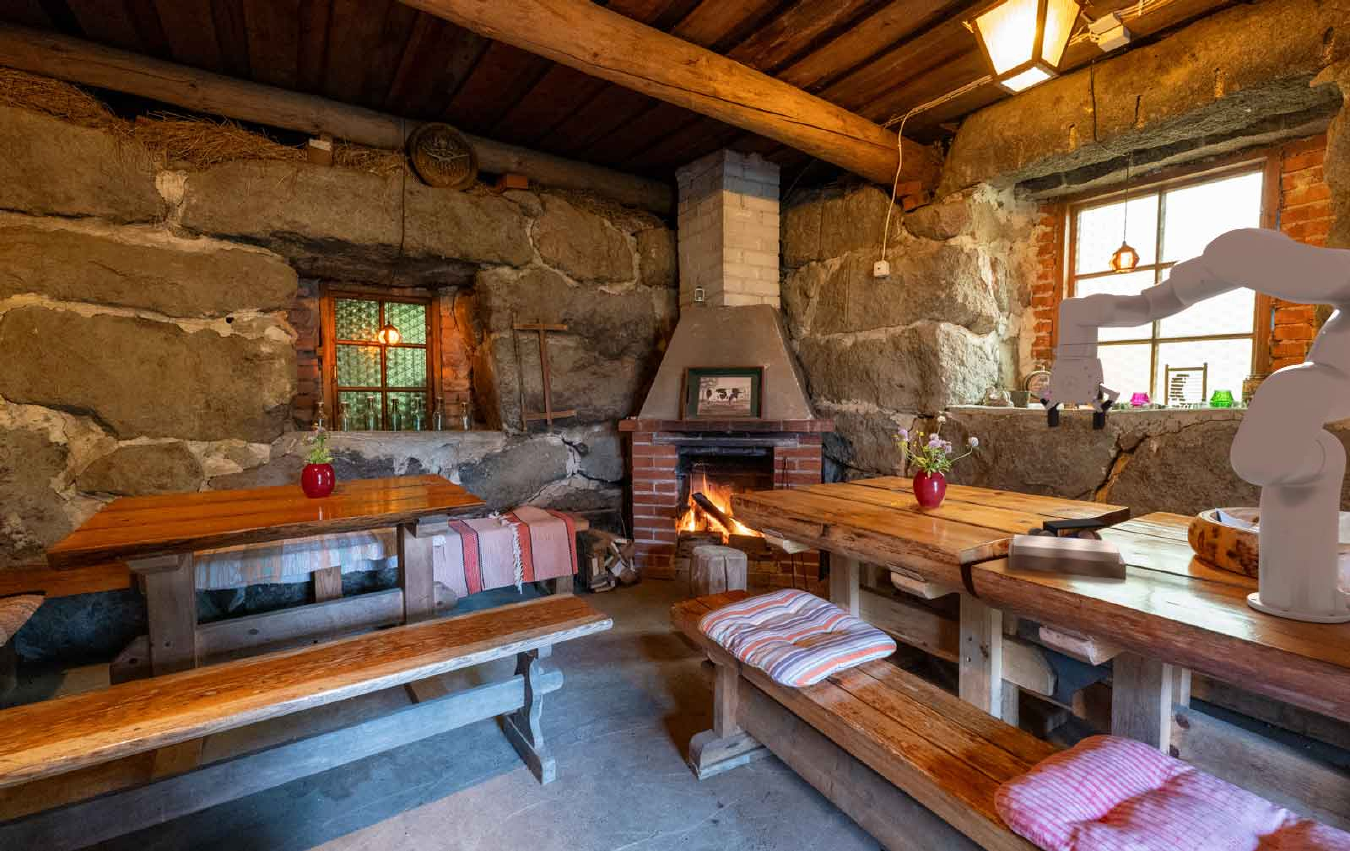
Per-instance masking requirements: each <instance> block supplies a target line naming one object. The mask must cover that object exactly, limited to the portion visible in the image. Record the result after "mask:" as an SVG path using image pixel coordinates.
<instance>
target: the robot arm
mask: <svg viewBox="0 0 1350 851" xmlns="http://www.w3.org/2000/svg"><path fill="white" fill-rule="evenodd" d="M1168 276H1169V278H1167V279H1165V280H1163V281H1161V282H1159V283H1156V284H1155V285H1154V284H1153V285H1152V286H1149V287H1146V288H1144V289H1141V290H1137V291H1100V292H1097V293H1093V294H1090V295H1086V296H1085V295H1084V296H1074V297H1073V296H1071V297H1067V298H1063V299H1061V301H1060V302H1059V305H1058V328H1057V329H1058V330H1057V331H1058V332H1057V345H1056V346H1057V347H1056V348H1052V352H1051V354H1052V355H1056V357H1057V359H1053V361H1052V364H1051V368H1050V373H1049V379H1048V385H1046V386H1045V387H1043V388H1040V389H1039V390H1036V395H1037V398H1038V400H1039V402H1040V404H1041V405H1042V406H1043V407H1044V409H1045V410H1046V411H1047V412H1046V414H1047V416H1046V417H1047V418H1046V420H1047V421H1046V422H1047V424H1048V425H1047V427H1048V428H1057V427H1059V425H1060V410H1059V409H1057V408H1058V407H1060V405H1061V404H1090V405H1091V407H1092V408H1093V409H1094V410H1095V411H1093V413H1092V430H1094V431H1102V430H1104V428H1105V426H1106V419H1107V418H1106V412H1108V411H1109V410H1110V409H1111V408H1112V407H1113V406H1114V405H1115V403H1116V402H1117V400H1118V398H1119V397H1120V395H1121V392H1120V391H1118V390H1116V389H1114V388H1112V387H1110V386H1107V385H1106V384H1105V379H1104V378H1105V377H1104V371H1103V370H1104V369H1103V364H1102V360H1101V358H1100V357H1099V358H1098V350H1099V349H1098V343H1099V342H1098V340H1099V328H1101V329H1102V328H1103V329H1107V328H1109V329H1110V328H1113V329H1114V328H1138V327H1141V326H1144V325H1149V324H1151V323H1154V322H1158V321H1160V320H1163V319H1166V318H1169V317H1172V316H1174V315H1177V314H1179V313H1181V312H1183V311H1185V310H1187V309H1189V308H1191V307H1192V306H1194V304H1197V303H1200V302H1202V301H1206V300H1208V299H1211V298H1215V297H1217V296H1221V295H1222V294H1226V293H1229V292H1232V291H1234V290H1235V291H1236V290H1238V289H1242V288H1245V289H1248V290H1251V291H1255V292H1258V293H1260V294H1263V295H1267V296H1269V297H1272V298H1275V299H1278V300H1282V301H1286V302H1290V303H1295V304H1301V305H1330V306H1332V307H1333V310H1332V313H1331V315H1330V317H1329V318H1328V319H1327V320H1326V321H1325V323H1324V324H1323V325H1322V327H1321V328H1320V329H1319V331H1318V333H1317V334H1316V336H1315V338H1314V340H1313V343H1312V346H1311V347H1310V350H1309V351H1308V353H1307V355H1306V357H1305V359H1304V361H1303V362H1302V364H1294V365H1289V366H1286V367H1283V368H1280V369H1278V370H1276V371H1274V372H1272V373H1271V374H1269V375H1268V376H1267V377H1266V378H1265V379H1264V380H1263V381H1262V382H1261V384H1260V385H1258V388H1257V389H1256V390H1255V392H1254V393H1253V396H1252V398H1251V401H1250V403H1249V405H1248V407H1247V410H1246V412H1245V414H1244V416H1243V418H1242V421H1241V422H1240V425H1239V427H1238V429H1237V432H1236V434H1235V436H1234V438H1233V441H1232V444H1231V447H1230V452H1229V458H1230V459H1229V460H1230V464H1231V467H1232V469H1233V470H1234V472H1235V473H1236V475H1237V476H1238V477H1240V479H1242V480H1243V481H1245V482H1247V483H1249V484H1252V485H1255V486H1259V487H1262V488H1261V493H1260V498H1259V507H1258V508H1259V514H1258V515H1259V516H1258V592H1252V593H1250V594H1249V595H1247V596H1246V603H1247V604H1248V606H1250V607H1251V608H1253V609H1255V610H1257V611H1259V612H1263V613H1266V614H1268V615H1269V614H1270V615H1272V616H1276V617H1281V618H1285V619H1290V620H1295V621H1302V622H1310V623H1319V624H1320V623H1322V624H1341V623H1345V622H1349V621H1350V592H1347V591H1345V590H1344V589H1342V588H1340V587H1339V540H1340V539H1339V536H1340V535H1339V531H1340V506H1341V502H1340V501H1341V495H1342V494H1341V493H1342V486H1343V482H1344V481H1343V480H1344V476H1345V473H1346V466H1347V454H1346V450H1345V447H1344V445H1343V444H1342V442H1341V441H1340V439H1339V438H1338V437H1337V436H1336V435H1334V434H1333V433H1331V432H1330V431H1328V430H1327V429H1323V427H1324V425H1325V423H1333V422H1338V421H1343V420H1346V419H1349V418H1350V249H1347V248H1346V249H1345V248H1329V247H1320V246H1316V245H1311V244H1306V243H1304V242H1303V243H1302V242H1299V241H1294V240H1293V239H1292V238H1290V236H1289V235H1287V234H1286V233H1284V232H1282V231H1279V230H1275V229H1269V228H1258V227H1246V226H1245V227H1235V228H1231V229H1228V230H1226V231H1223V232H1221V233H1219V234H1217V235H1216V236H1214V237H1213V238H1212V239H1211V240H1210V241H1209V242H1208V243H1207V244H1206V245H1205V248H1204V249H1203V251H1202V252H1200V253H1198V254H1195V255H1192V256H1189V257H1187V258H1185V259H1182V260H1179V261H1178V262H1176V263H1175V264H1173V265H1172V267H1171V268H1170V271H1169V275H1168ZM1105 394H1106V395H1108V397H1107V400H1105V401H1103V400H1104V396H1105Z"/></svg>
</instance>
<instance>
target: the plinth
mask: <svg viewBox="0 0 1350 851" xmlns="http://www.w3.org/2000/svg"><path fill="white" fill-rule="evenodd" d="M1060 537H1061V536H1058V537H1045V536H1029V535H1028V534H1014V535H1013V541H1009V546H1008V569H1012V570H1022V571H1031V572H1032V571H1035V572H1043V573H1044V572H1046V573H1055V574H1064V575H1065V574H1067V575H1079V576H1089V577H1100V578H1101V577H1102V578H1112V579H1123V580H1126V579H1127V563H1126V562H1125V559H1124V558H1123V556H1122V555H1121V552H1120V551H1119V549H1117V546H1116V545H1115V543H1114V541H1113V540H1106V539H1105V540H1103V539H1102V540H1091V539H1075V538H1060Z"/></svg>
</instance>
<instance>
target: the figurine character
mask: <svg viewBox="0 0 1350 851" xmlns="http://www.w3.org/2000/svg"><path fill="white" fill-rule="evenodd" d="M1105 527H1107V524H1106V523H1104V522H1102V521H1099V520H1097V519H1094V518H1092V517H1088V518H1086V517H1085V518H1073V519H1060V520H1058V519H1057V520H1044V521H1042V528H1040V527H1038V526H1035V527H1031V528H1030V529H1028V531H1027V535H1029V536H1045V537H1060V538H1075V539H1091V540H1103V538H1102V536H1101V534H1100V533H1099V532H1097V531H1096V530H1092V529H1091V528H1105ZM1076 529H1077V530H1079V529H1083V530H1082V531H1081V532H1079V534H1072V535H1066V536H1065V535H1064V536H1063V535H1062V536H1059V531H1063V530H1065V531H1066V530H1076ZM1084 529H1085V530H1084Z"/></svg>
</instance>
